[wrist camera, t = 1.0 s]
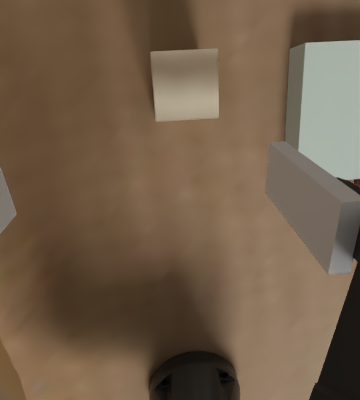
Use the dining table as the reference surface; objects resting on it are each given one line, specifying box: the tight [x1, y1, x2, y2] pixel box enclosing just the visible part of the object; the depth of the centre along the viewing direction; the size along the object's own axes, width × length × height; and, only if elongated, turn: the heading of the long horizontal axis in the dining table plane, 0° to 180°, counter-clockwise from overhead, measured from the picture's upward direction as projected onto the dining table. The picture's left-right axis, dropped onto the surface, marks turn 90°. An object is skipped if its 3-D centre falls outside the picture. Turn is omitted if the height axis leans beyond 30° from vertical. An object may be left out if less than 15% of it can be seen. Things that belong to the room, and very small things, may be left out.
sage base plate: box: [285, 40, 360, 180], centre depth 38 cm, size 16×16×4 cm
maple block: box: [151, 48, 219, 122], centre depth 33 cm, size 6×6×10 cm
